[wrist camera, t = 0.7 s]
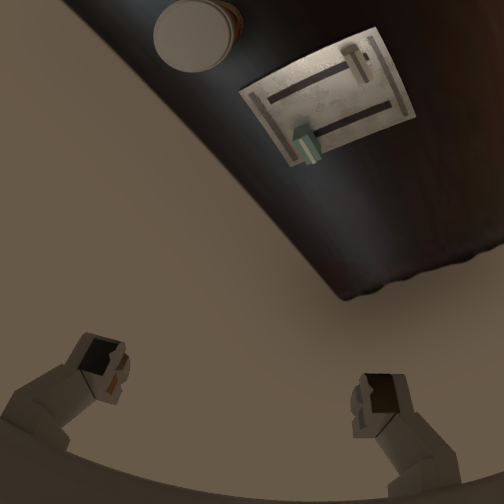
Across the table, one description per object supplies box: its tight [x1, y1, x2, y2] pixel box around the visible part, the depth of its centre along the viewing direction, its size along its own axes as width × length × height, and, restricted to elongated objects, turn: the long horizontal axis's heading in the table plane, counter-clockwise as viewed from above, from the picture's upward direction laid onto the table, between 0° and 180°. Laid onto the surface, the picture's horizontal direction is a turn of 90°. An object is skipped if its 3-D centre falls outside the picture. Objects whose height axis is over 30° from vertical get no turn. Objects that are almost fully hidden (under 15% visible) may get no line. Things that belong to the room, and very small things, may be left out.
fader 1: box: [293, 123, 322, 165], centre depth 46 cm, size 2×4×4 cm, turn 33°
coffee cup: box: [153, 0, 243, 72], centre depth 33 cm, size 9×9×12 cm
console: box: [239, 26, 416, 167], centre depth 42 cm, size 22×15×2 cm
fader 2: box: [340, 45, 375, 85], centre depth 35 cm, size 2×4×4 cm, turn 33°
